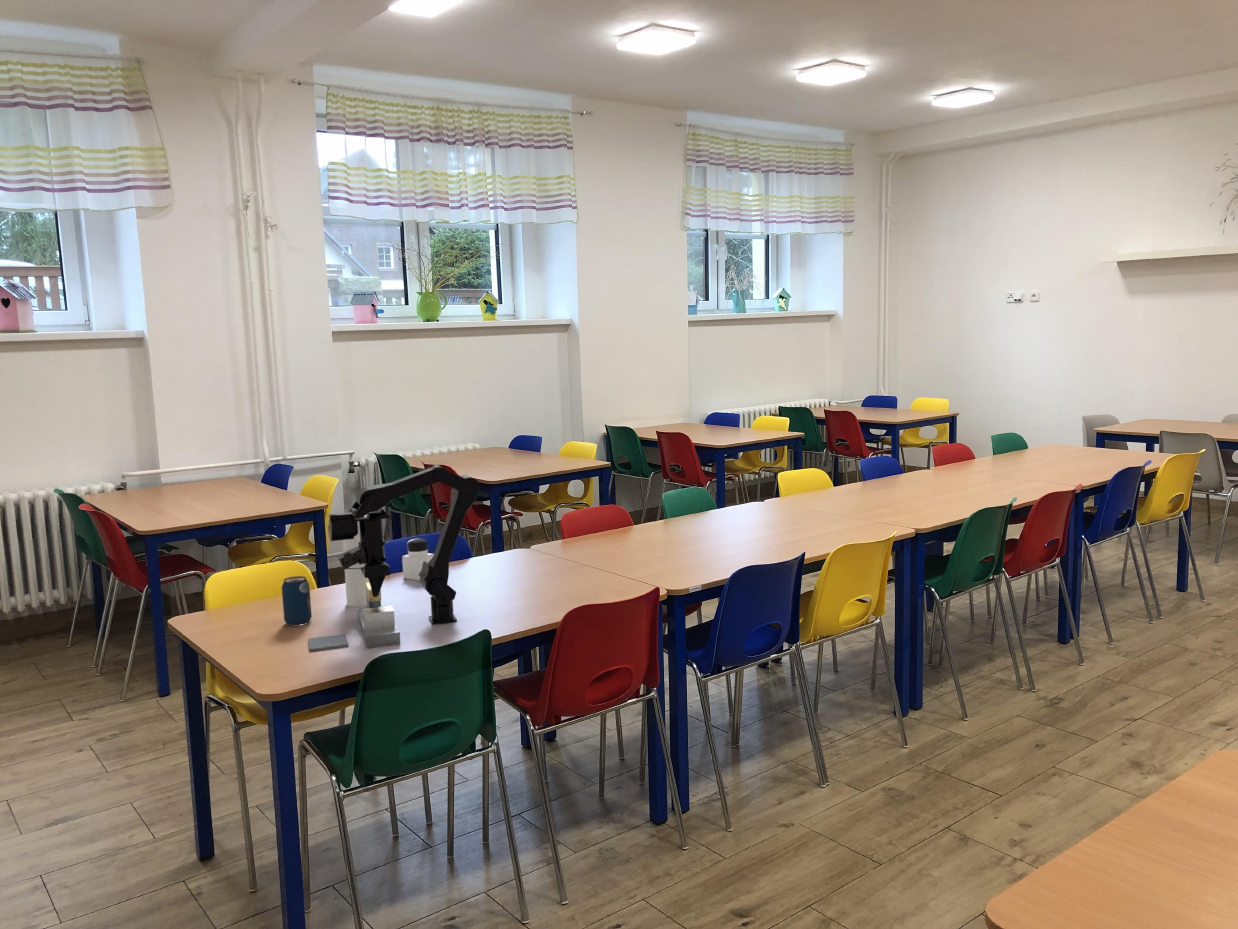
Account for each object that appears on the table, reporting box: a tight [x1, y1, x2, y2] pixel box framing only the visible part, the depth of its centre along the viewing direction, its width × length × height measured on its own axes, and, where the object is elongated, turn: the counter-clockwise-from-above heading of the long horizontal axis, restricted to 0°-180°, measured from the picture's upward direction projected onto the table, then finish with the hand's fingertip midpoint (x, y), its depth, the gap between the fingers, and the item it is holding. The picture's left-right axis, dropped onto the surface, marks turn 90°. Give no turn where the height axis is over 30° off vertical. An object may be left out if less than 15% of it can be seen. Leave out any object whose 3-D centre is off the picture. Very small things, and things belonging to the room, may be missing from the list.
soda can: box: [281, 575, 313, 626], centre depth 253 cm, size 7×7×12 cm
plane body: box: [356, 594, 401, 649], centre depth 244 cm, size 26×8×7 cm, turn 20°
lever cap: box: [363, 605, 396, 630], centre depth 239 cm, size 5×7×4 cm
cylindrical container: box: [342, 515, 369, 608], centre depth 270 cm, size 7×7×25 cm
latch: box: [365, 581, 382, 602], centre depth 250 cm, size 10×3×3 cm, turn 20°
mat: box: [307, 633, 350, 652], centre depth 235 cm, size 9×9×1 cm
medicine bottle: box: [401, 538, 434, 582], centre depth 299 cm, size 7×7×12 cm
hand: (375, 596), depth 244 cm, fingers closed
